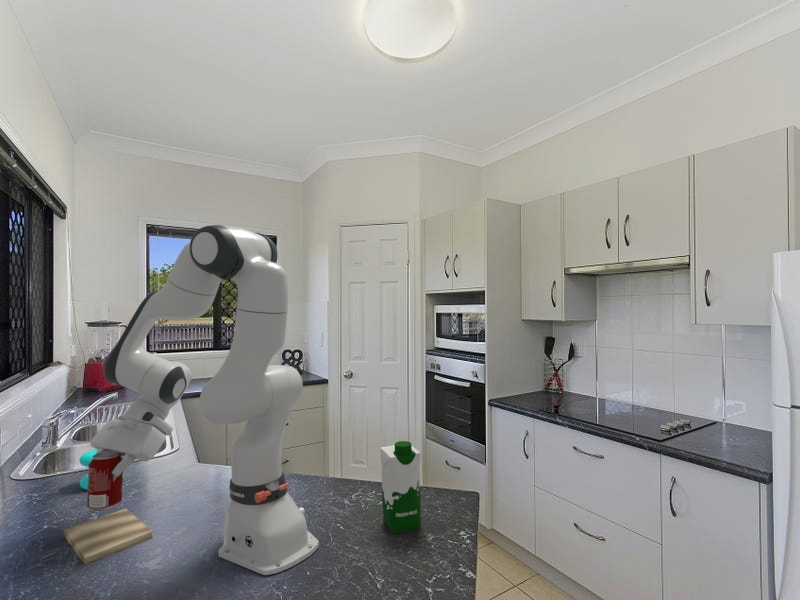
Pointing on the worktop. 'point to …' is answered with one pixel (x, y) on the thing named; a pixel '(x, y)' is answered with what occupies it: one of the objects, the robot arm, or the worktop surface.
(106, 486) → the soda can
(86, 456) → the donuts
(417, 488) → the milk carton
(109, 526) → the cutting board
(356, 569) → the worktop surface
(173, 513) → the worktop surface
